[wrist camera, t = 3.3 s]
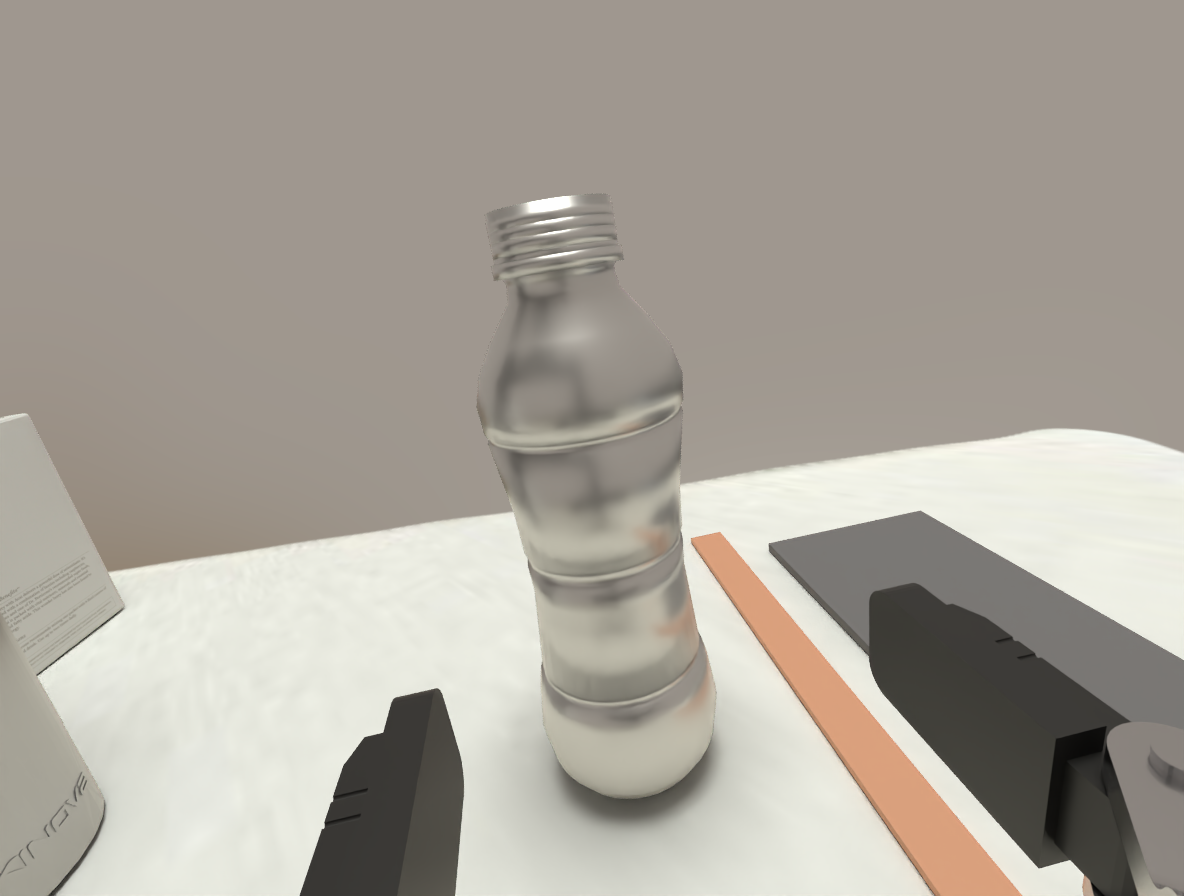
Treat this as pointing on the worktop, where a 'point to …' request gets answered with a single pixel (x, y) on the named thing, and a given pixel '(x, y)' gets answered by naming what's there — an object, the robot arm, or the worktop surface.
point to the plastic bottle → (596, 498)
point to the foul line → (860, 740)
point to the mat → (986, 606)
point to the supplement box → (45, 553)
